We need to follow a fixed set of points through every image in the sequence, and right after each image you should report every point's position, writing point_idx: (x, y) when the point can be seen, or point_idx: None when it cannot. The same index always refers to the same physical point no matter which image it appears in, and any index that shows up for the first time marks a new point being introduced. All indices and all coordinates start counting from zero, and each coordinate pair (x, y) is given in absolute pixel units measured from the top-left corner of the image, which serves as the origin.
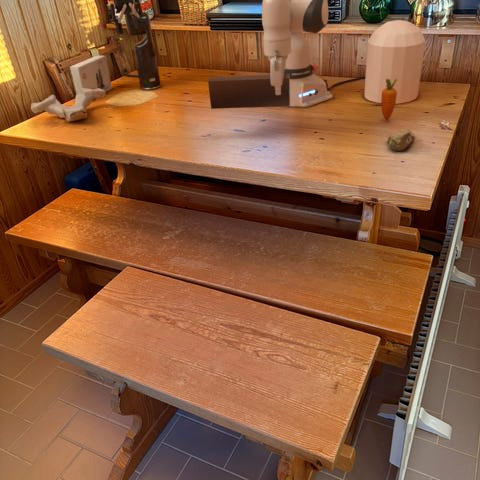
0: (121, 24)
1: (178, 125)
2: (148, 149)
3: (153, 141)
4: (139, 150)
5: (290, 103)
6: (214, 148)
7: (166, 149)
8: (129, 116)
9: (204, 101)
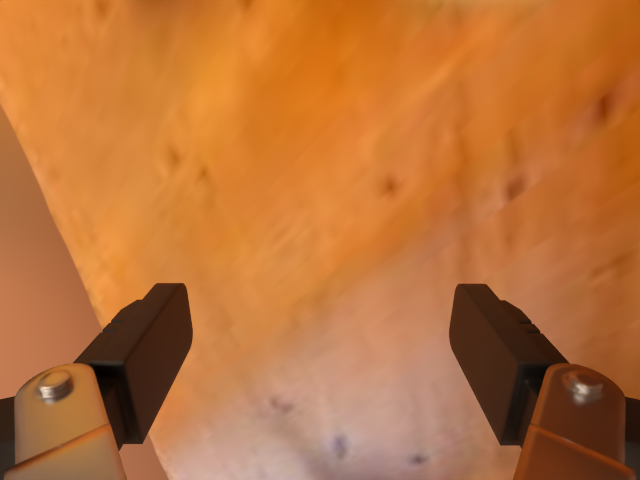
0: (149, 425)
1: (304, 303)
2: None
3: None
4: None
5: None
6: (233, 453)
7: None
8: (293, 76)
9: (523, 241)
